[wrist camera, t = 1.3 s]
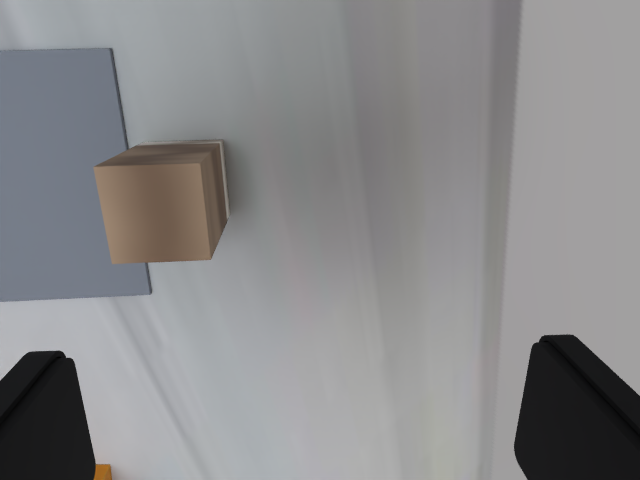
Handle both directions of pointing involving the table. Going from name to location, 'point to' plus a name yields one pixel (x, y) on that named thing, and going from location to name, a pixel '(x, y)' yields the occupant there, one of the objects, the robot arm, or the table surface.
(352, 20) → the table surface
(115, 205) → the walnut block
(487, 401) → the table surface
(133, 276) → the mat
